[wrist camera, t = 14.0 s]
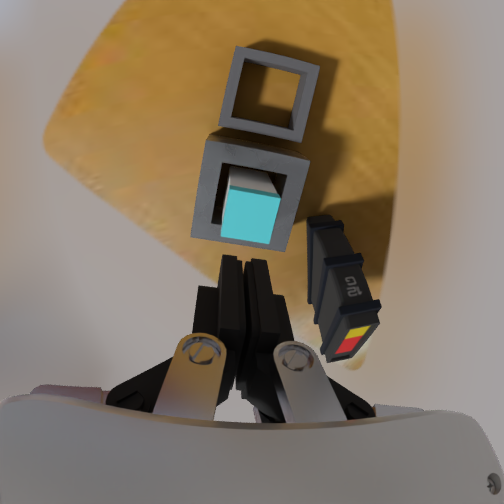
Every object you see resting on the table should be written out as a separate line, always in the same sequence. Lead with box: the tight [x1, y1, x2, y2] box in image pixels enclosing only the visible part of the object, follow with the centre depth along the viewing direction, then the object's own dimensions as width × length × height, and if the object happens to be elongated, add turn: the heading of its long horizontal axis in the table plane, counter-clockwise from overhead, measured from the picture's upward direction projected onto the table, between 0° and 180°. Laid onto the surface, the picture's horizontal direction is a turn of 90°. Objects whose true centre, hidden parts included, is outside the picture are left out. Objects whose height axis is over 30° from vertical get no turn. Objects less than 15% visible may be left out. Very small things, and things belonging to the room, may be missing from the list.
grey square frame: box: [218, 46, 320, 143], centre depth 26 cm, size 8×8×3 cm
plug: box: [221, 166, 281, 244], centre depth 28 cm, size 4×4×9 cm
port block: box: [191, 134, 310, 252], centre depth 30 cm, size 10×10×5 cm
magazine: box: [306, 215, 382, 363], centre depth 32 cm, size 4×13×15 cm, turn 6°
